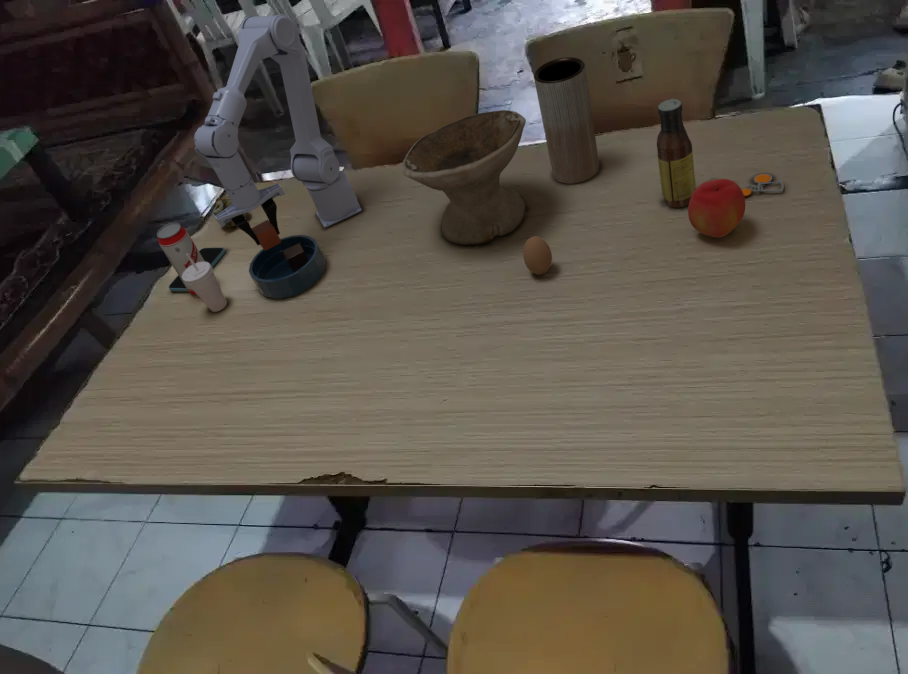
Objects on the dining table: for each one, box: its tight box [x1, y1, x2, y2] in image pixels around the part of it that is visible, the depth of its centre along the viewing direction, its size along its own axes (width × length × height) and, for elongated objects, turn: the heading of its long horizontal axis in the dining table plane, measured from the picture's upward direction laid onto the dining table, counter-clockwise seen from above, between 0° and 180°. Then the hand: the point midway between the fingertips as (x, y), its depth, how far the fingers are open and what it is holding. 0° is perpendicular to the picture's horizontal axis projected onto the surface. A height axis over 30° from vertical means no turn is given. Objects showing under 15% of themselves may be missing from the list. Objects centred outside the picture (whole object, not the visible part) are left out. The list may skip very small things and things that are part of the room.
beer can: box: [156, 222, 205, 297], centre depth 157 cm, size 6×6×16 cm
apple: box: [687, 178, 746, 238], centre depth 129 cm, size 10×10×10 cm
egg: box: [522, 235, 553, 275], centre depth 135 cm, size 5×5×8 cm
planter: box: [533, 56, 600, 184], centre depth 150 cm, size 10×10×23 cm
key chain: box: [712, 173, 785, 197], centre depth 138 cm, size 13×7×1 cm, turn 76°
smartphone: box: [167, 247, 226, 292], centre depth 169 cm, size 7×1×15 cm
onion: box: [212, 195, 248, 228], centre depth 178 cm, size 8×8×8 cm
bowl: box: [401, 109, 527, 246], centre depth 147 cm, size 26×25×20 cm
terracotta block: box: [251, 219, 281, 251], centre depth 154 cm, size 4×4×4 cm
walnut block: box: [283, 243, 309, 273], centre depth 157 cm, size 4×4×4 cm
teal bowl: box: [248, 234, 327, 300], centre depth 156 cm, size 15×15×5 cm
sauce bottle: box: [656, 98, 697, 208], centre depth 135 cm, size 6×6×20 cm
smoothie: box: [182, 253, 228, 313], centre depth 152 cm, size 6×6×14 cm
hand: (267, 237), depth 155 cm, fingers closed on terracotta block, 4 cm apart
